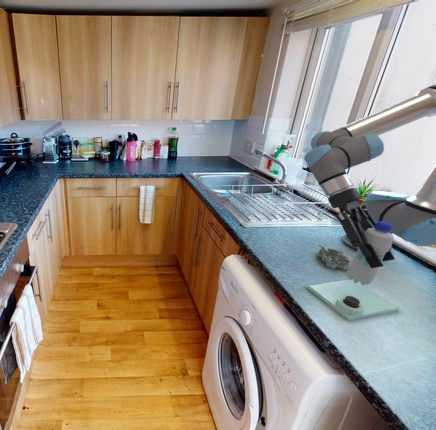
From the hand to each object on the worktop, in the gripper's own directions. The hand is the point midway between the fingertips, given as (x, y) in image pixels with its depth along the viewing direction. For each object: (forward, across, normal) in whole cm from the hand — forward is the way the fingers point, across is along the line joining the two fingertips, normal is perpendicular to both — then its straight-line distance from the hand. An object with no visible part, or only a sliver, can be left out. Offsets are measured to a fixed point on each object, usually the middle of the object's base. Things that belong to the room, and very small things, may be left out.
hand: (383, 263), depth 82 cm
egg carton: (-2, -14, -21) cm, 25 cm away
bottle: (+4, 0, -9) cm, 9 cm away
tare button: (+8, +10, -8) cm, 15 cm away
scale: (+8, +3, -11) cm, 14 cm away
